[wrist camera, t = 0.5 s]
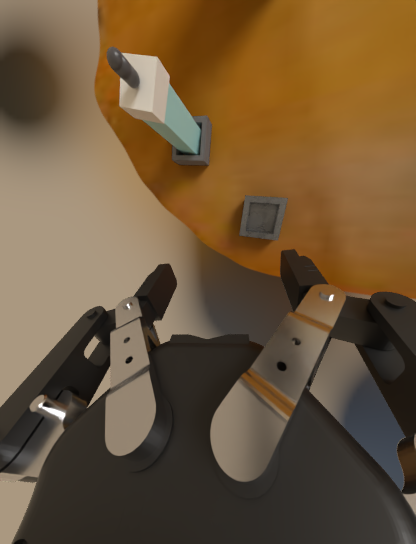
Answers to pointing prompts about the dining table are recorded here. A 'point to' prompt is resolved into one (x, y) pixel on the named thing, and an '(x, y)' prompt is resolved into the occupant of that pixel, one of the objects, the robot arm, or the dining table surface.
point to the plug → (154, 99)
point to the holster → (203, 158)
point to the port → (262, 217)
